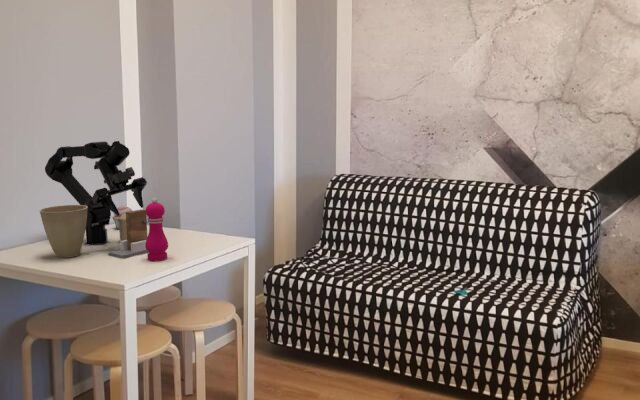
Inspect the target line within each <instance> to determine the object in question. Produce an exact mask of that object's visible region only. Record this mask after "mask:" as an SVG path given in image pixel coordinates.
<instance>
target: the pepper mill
mask: <svg viewBox="0 0 640 400" xmlns="http://www.w3.org/2000/svg"><path fill="white" fill-rule="evenodd" d="M145 210H146V211H145V212H146V217H147V223H148V226H149V227H148V228H149V229H148V233H147V240H146V244H145V248H146V250H147V251H148V252H149V253H146V254H147V260H148V261H152V262H161V261H166V260H167V259H168V253H167V250H168V248H169V242H168V238H167V236H166V234H165V232H164V229H163V223H164V217H163V216H164V215H165V210H166V209H165V207H164V205H163V204H161V203H160V202H158V198H156V197H153V198H152V199H151V203H149V204H148V205H147V206H146V207H145Z"/></svg>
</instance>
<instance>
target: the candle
mask: <svg viewBox="0 0 640 400" xmlns="http://www.w3.org/2000/svg"><path fill="white" fill-rule="evenodd" d="M119 228H120V230H119V239H120V240H119V242H120V241H123V240H127V229H126V214H123V215H122V216H121V217H120V218H119Z"/></svg>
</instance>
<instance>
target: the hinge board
mask: <svg viewBox="0 0 640 400" xmlns="http://www.w3.org/2000/svg"><path fill="white" fill-rule="evenodd" d="M119 242H120V249H117V250H112V251H109V252H107V254H108V256H110V257H114V258H119V259H127V258H131V257H132V258H133V257H136V256H140V255H145V254H148V253H149V252H148V251H147V250H146V248H145V244H146V240H143V241H139V242H134V243H131V251H129V250H128V247H127V240H123V241H120V240H119Z"/></svg>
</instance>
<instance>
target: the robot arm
mask: <svg viewBox="0 0 640 400" xmlns="http://www.w3.org/2000/svg"><path fill="white" fill-rule="evenodd" d="M130 152H131V151H130V150H129V148H128V146H126V145H125V144H123V143H121V142H120V140H114V141H113V142H112V144H111V145H110V144H109V142H107V141H105V140H104V141H94V142H88V143H85V144H84V145H79V146H78V145H77V146H69V145H67V146H60V147H58V148H57V150H56V152H55V153H54V154H52V156H50V158H48V161H47V162H46V165H45V167H44V172H45V173H46V175H47V177H48V178H50V179H51V180H52V181H55V182H57V183H59V184H61V185H62V186H63V187H64V188H65V189H66V190H67V192H68V193H69V194H70V195H71V196H72V197H73V198H74V199H75V201H76V202H77V203H78V205H84V206H87V207H88V210H87V222H86V229H85V236H86V237H85V239H86V242H85V244H84V245H86V246H87V245H104V244H105V243H106V242H107V241H108V229H107V228H106V226H108V225H110V222H111V221H110V220H111V217H112V216H111V215H112V213H113V214H114V213H115V214H116V215H117V216H119V211H118V209H117V208H118V207H117V205H116V204H115V202H114V201H113V198H112V196H114V195H117V194H120V193H124V192H128V191H131V192H132V195H133V197H134V199H135V200H136V202H137V204H138V205H139V207H140V208H141V209H143V208H144V200H143V190H144V189H145V188H146V185H147V184H148V182H147V179H146V178H144V177H143V176H142V177H137V178H134V179H133V180H132V177H135V176H136V172H135V171H134V168H133V167H132V166H130V167H127V168H125V169H124V170H125V171H122V170H121V169H119V168H118V166H120V165H122V163H123V162H124V161H125V160H126V159H127V158H128V157H129V156H130ZM74 157H75V158H76V157H85V158H86V159H89V160H90V159H91V160H94V159H95V160H96V159H99V160H97V161H95V164H94V165H93V170H99V171H100V173H101V176H102V177H103V183H104V184H106V185H107V187H108V188H107V187H103V188H98V189H96V190H95V191H94V193H93V194H92V195H91V194H90V193H89V192H88V191H87V189H85V187H84V186H83V185H82V184H81V183H80V182H79V181H78V179H77V178H76V177H75V176H74V175H73V168H72V167H73V165H74V161H73V160H74V159H73V158H74ZM63 159H66V160H63ZM129 180H132V182H131V183H129Z"/></svg>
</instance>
